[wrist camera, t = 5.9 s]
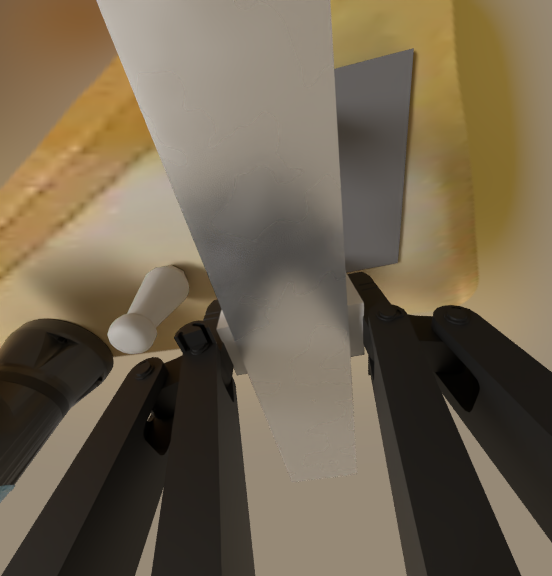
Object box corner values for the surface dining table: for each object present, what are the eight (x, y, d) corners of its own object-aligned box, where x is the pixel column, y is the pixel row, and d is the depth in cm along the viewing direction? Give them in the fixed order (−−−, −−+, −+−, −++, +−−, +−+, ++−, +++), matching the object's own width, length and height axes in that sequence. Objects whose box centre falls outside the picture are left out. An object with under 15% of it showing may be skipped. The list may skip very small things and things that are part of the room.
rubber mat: (331, 272, 35) (332, 274, 34) (313, 75, 23) (314, 74, 23) (395, 261, 34) (397, 262, 33) (410, 50, 22) (413, 48, 22)
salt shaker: (201, 277, 35) (169, 343, 24) (179, 301, 37) (140, 371, 26) (165, 251, 32) (110, 310, 21) (144, 278, 34) (84, 344, 23)
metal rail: (287, 424, 18) (291, 482, 15) (142, -20, 6) (32, -159, 3) (341, 417, 17) (356, 474, 15) (291, -66, 6) (315, -265, 3)
